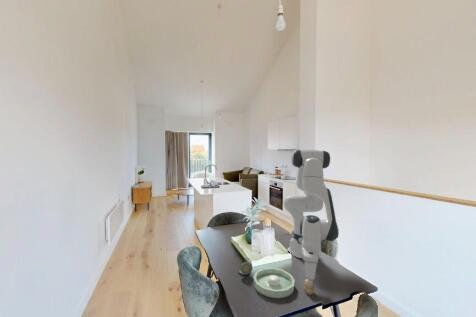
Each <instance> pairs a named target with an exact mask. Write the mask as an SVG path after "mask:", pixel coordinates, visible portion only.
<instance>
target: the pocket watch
mask: <svg viewBox="0 0 476 317" xmlns="http://www.w3.org/2000/svg"><path fill="white" fill-rule="evenodd" d="M249 259H250V258H249V257H245V258H244V261H245V262H243V263H242V264H241V265H240V268H238V273H239V274H240V275H244V276H246V275H250V273H251V272H252V271H253V265H252V263H251V262H250V261H249Z"/></svg>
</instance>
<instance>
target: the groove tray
mask: <svg viewBox="0 0 476 317" xmlns="http://www.w3.org/2000/svg"><path fill="white" fill-rule="evenodd" d="M252 279H253V287H254V288H255V290H256V292H258V293H259V294H261V295H262V296H265V297H267V298H272V299H283V298H288V297H290V296H291V295H292V294H293V293H294V291H295V285H296V284H295V283H296V282H295V278H294V277H293V276H292V274H291V273H290V272H288V271H285V270H284V269H281V268H276V267H265V268H264V267H263V268H261V269H259V270H257V271H255V273H254V275H253V278H252Z"/></svg>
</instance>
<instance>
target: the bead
mask: <svg viewBox="0 0 476 317" xmlns="http://www.w3.org/2000/svg"><path fill="white" fill-rule="evenodd" d="M303 284H304V288H303V289H304V290H303V292H304V293H305V294H306V295H310V296H312V295H314V293H315V290H314V289H315V281H314V280H312V285H309V284H308V279H307V278H306V279H305V280H304V282H303Z"/></svg>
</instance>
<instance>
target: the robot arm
mask: <svg viewBox="0 0 476 317" xmlns="http://www.w3.org/2000/svg"><path fill="white" fill-rule="evenodd" d="M290 162H291V164H292V166H293V167H295V168H297V175H296V184H295V185H296V187H297V188H298V190H300V191H302V192H303V194H292V195H287V196H285V197H284V200H283V207H284V209H285V210H286V212H288V213H289V214H290V216H291V218H292V219H293V221H292V222H293V231H292V238H290V240H289V242H290V243H289V247H288V248H287V250H288V251H289V252H291V253H292V254H291V253H290V254H291V255H292V256H293V257H296V258H298V259H302V260H303V261H304V270H305V278H306V279H308V284H309V285H312V281H314V280H315V278H316V274H317V266H318V263H319V260H320V259H319V258H320V257H321V255H322V244H321V240H325V241H328V242H334V241H335V240H336V239H338V238H339V234H340V230H339V225H338V223H337V219H336V213H335V207H334V202H333V198H332V192H331V190H330V189H329V188H328V187H327V186H326V184H325V181H324V180H325V179H324V169H327V168H328V167H329V166H330V164H331V155H330V152H328V151H326V150H318V149H295V150H293V152H292V154H291V157H290ZM323 208H325V213H326V219H320V217H319V216H317V215H314V214H313V215H312V214H309V215H305V216H304V213H315V212H320V211H322V209H323ZM287 250H286V251H287ZM289 252H288V253H289Z"/></svg>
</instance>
